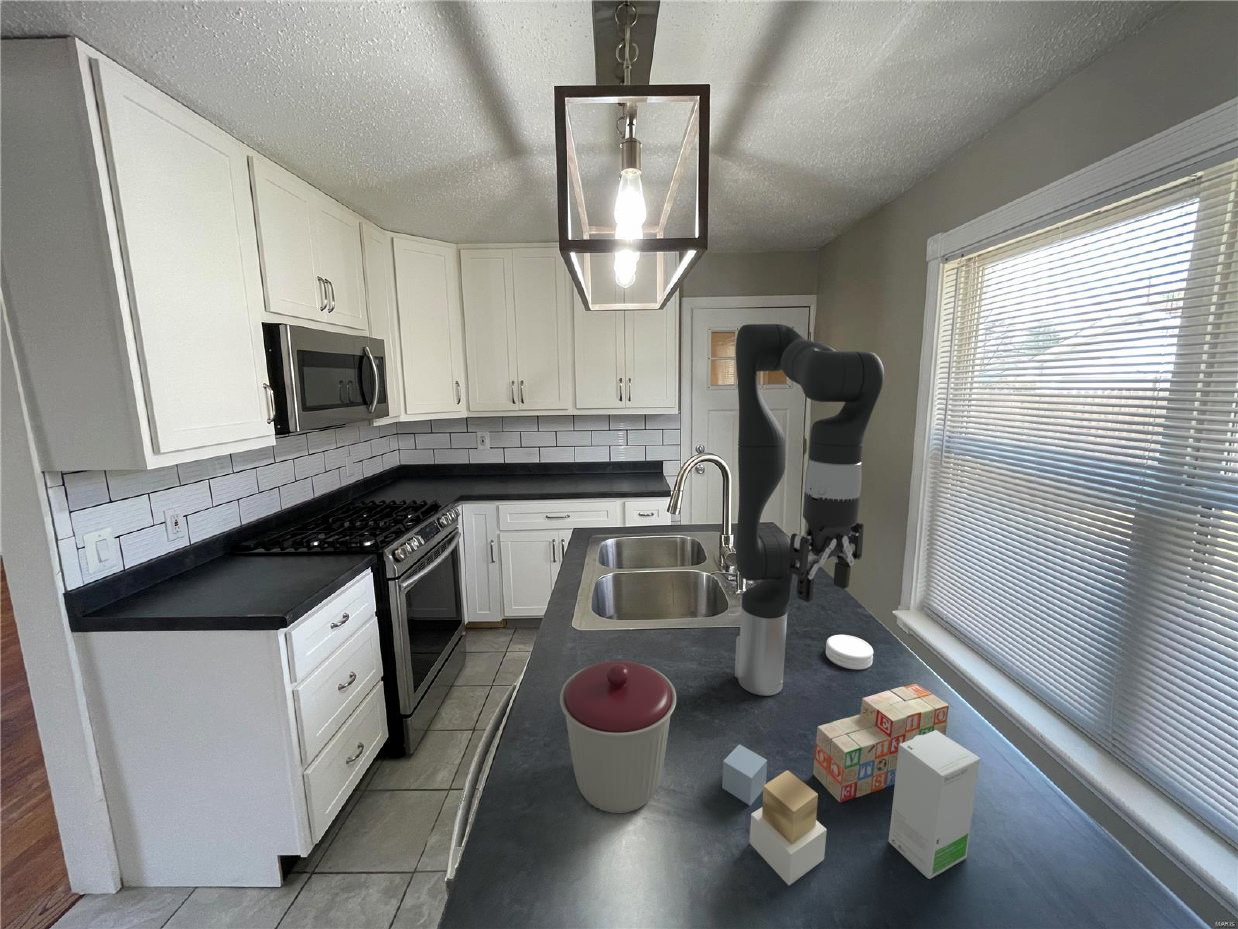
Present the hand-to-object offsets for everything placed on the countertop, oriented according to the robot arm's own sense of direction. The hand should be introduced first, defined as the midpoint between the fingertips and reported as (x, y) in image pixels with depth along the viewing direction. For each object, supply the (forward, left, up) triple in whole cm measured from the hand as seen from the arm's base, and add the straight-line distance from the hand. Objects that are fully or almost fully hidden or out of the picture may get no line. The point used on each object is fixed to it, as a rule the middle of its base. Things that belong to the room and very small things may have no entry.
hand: (823, 593), depth 77 cm
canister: (-15, -28, -33) cm, 45 cm away
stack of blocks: (+5, +11, -33) cm, 35 cm away
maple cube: (+7, -14, -28) cm, 31 cm away
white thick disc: (-18, +37, -33) cm, 53 cm away
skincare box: (+17, +3, -33) cm, 37 cm away
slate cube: (-4, -11, -33) cm, 34 cm away
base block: (+7, -14, -33) cm, 36 cm away
